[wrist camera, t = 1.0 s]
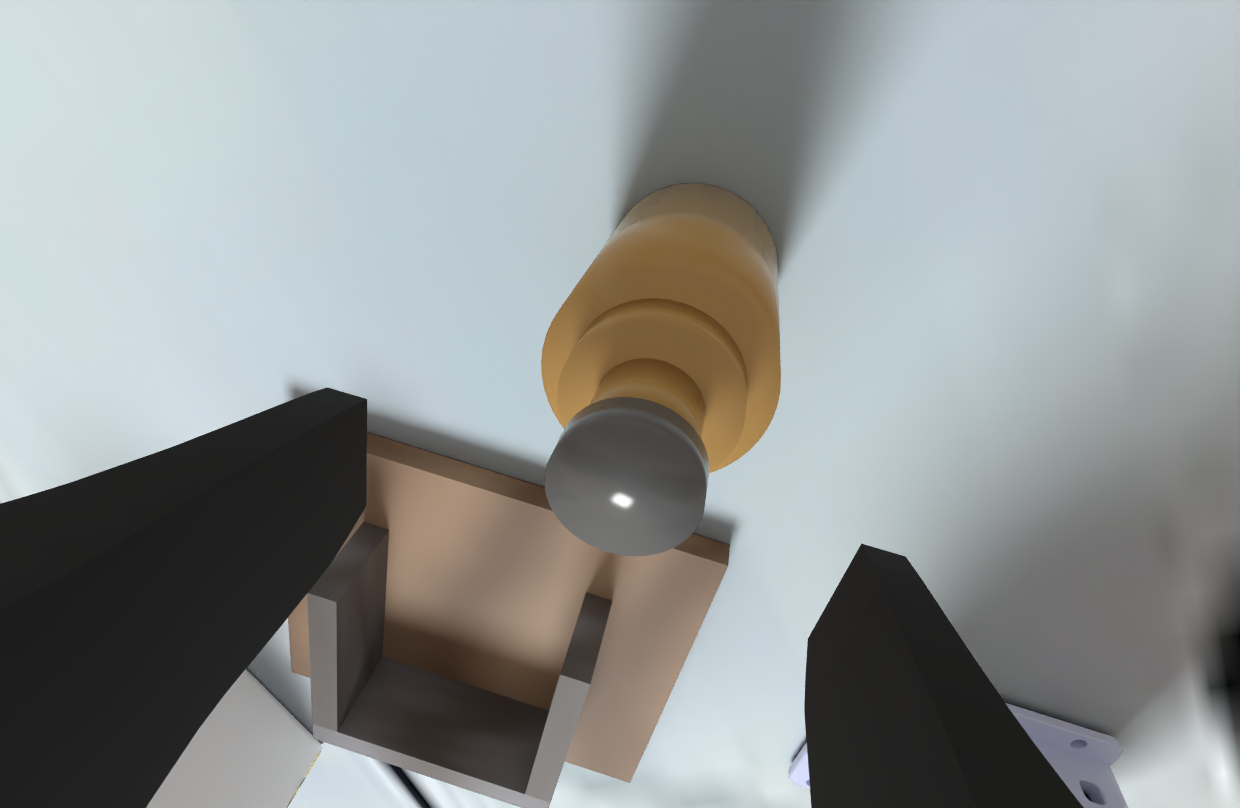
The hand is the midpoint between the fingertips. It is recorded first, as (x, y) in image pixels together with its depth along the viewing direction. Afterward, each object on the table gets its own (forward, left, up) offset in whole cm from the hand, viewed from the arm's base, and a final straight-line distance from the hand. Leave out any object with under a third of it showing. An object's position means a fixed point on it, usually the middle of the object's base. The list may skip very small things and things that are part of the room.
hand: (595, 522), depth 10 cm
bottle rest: (+4, +16, -10) cm, 19 cm away
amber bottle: (0, 0, -10) cm, 10 cm away
